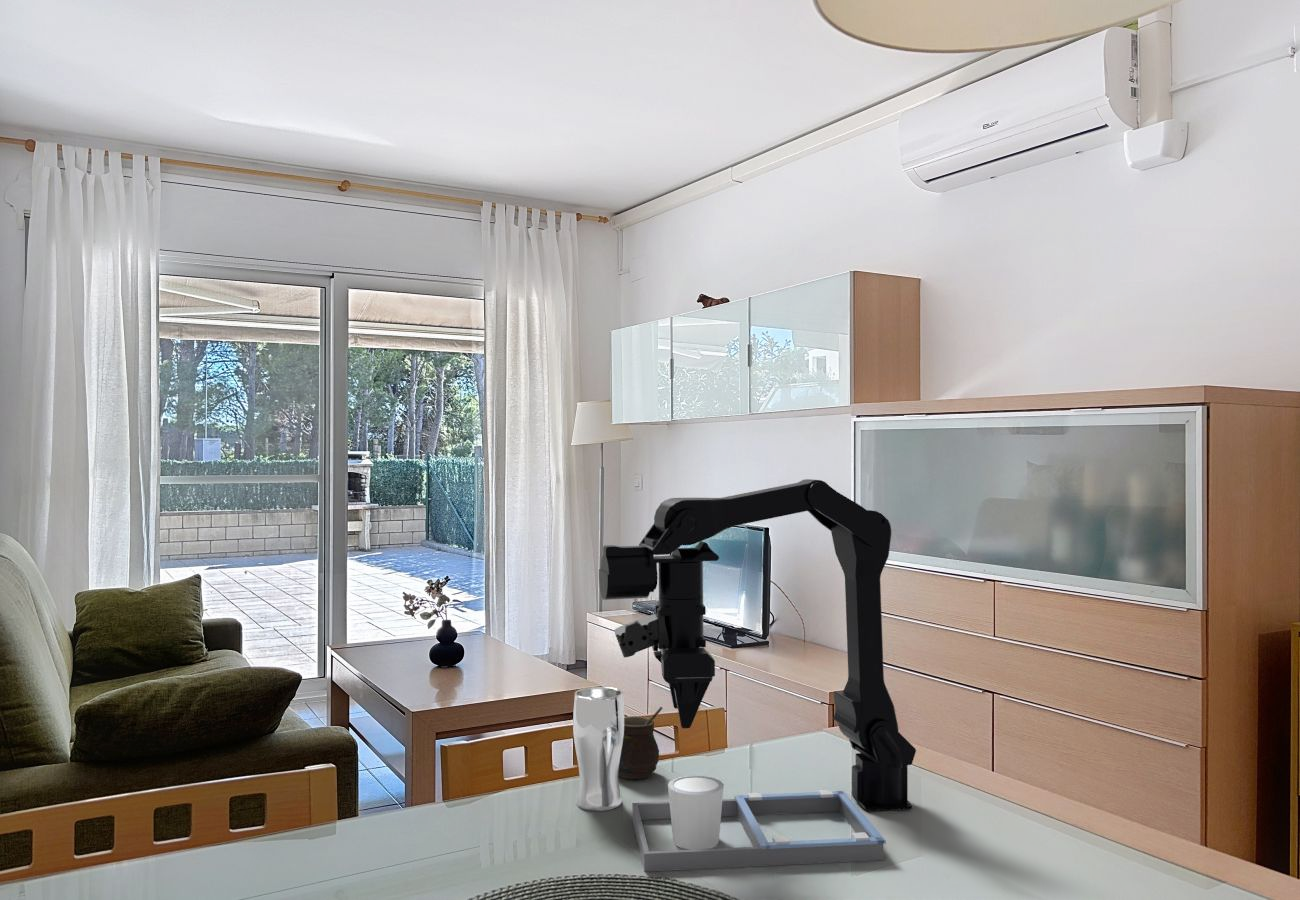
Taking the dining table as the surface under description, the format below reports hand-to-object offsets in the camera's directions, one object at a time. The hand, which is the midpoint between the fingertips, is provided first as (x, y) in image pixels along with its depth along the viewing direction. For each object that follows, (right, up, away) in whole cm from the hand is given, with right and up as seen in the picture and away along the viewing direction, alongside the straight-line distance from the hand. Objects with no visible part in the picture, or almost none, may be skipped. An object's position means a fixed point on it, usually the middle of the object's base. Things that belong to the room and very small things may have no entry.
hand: (681, 717), depth 126 cm
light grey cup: (+2, -14, -6) cm, 15 cm away
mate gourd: (-6, -14, +18) cm, 24 cm away
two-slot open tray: (+8, -13, -5) cm, 17 cm away
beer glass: (-11, -14, +7) cm, 19 cm away
